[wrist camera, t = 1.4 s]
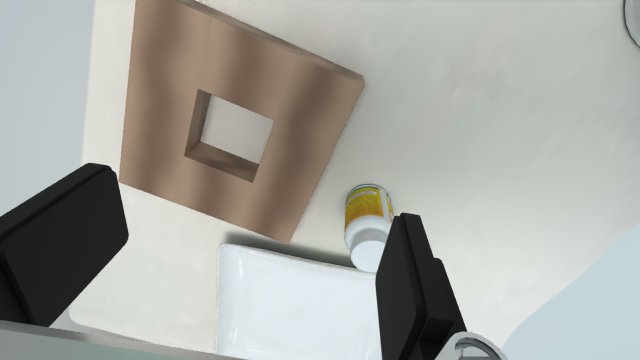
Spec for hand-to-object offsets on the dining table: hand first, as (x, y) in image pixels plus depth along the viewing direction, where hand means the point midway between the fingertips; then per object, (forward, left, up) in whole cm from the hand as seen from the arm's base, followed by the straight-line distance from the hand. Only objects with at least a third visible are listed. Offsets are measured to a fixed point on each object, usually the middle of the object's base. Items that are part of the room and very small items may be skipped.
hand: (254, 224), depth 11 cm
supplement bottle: (-11, +11, -24) cm, 29 cm away
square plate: (-12, +33, -25) cm, 43 cm away
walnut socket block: (+6, +8, -24) cm, 26 cm away
